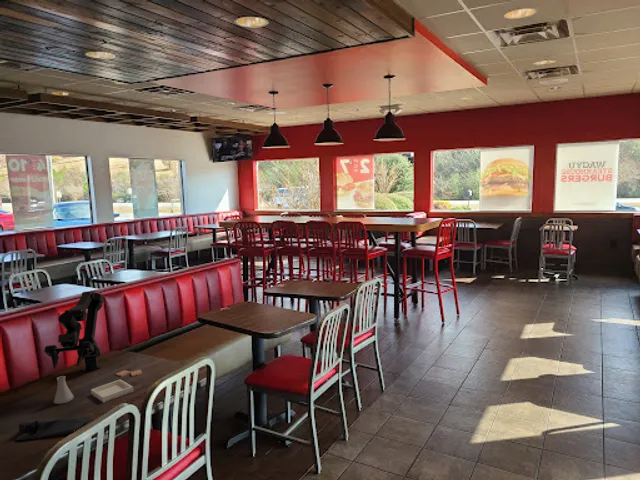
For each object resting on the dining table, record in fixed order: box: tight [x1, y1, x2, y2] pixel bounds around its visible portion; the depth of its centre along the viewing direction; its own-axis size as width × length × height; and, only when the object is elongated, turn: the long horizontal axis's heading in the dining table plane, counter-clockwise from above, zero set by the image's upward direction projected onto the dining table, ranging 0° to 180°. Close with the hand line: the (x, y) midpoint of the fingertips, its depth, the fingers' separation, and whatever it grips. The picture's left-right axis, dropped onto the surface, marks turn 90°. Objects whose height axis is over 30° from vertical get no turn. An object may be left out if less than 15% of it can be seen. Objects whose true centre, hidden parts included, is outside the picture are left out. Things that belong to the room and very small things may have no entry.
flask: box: [53, 375, 75, 405], centre depth 195 cm, size 7×7×10 cm
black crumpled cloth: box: [15, 415, 91, 442], centre depth 173 cm, size 15×22×5 cm
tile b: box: [130, 369, 143, 377], centre depth 220 cm, size 4×4×1 cm
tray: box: [90, 378, 134, 404], centre depth 200 cm, size 13×13×2 cm
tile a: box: [115, 369, 131, 378], centre depth 221 cm, size 4×4×1 cm
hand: (65, 367), depth 201 cm, fingers open, 9 cm apart
